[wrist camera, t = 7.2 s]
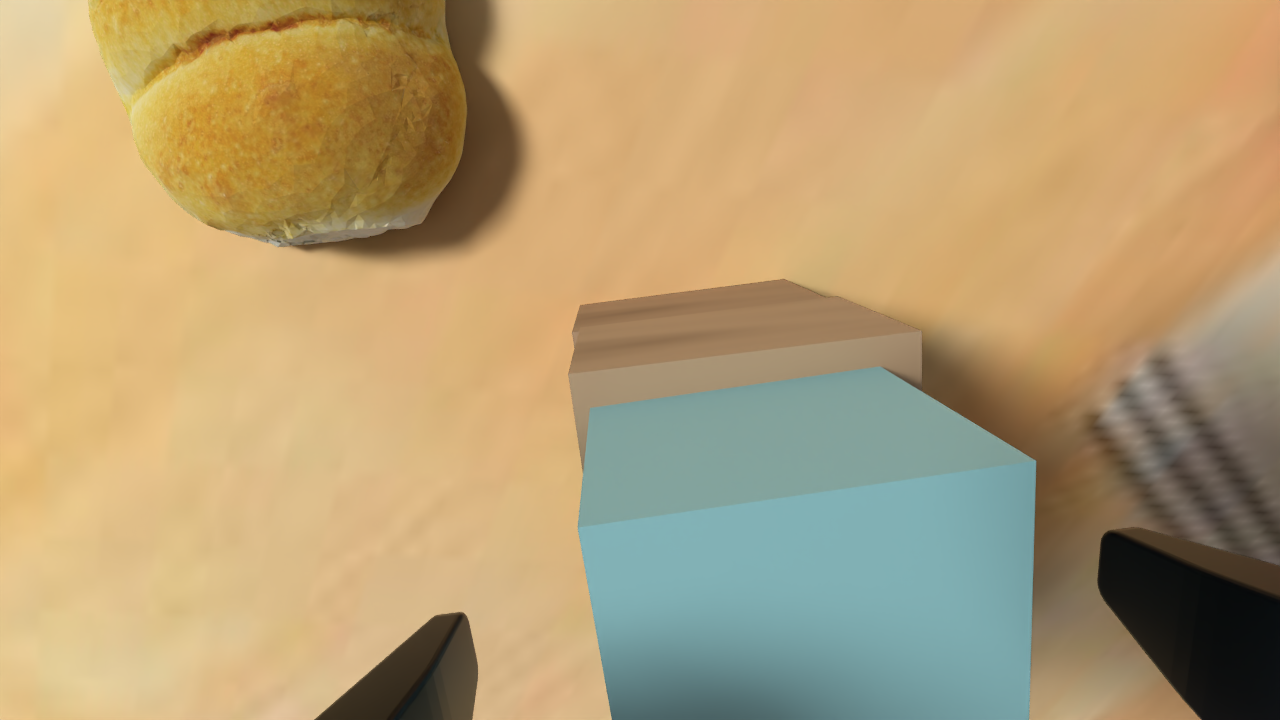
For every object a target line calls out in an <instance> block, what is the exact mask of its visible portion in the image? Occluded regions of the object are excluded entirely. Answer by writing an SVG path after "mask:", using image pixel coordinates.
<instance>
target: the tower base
mask: <svg viewBox="0 0 1280 720" xmlns="http://www.w3.org/2000/svg"><path fill="white" fill-rule="evenodd" d="M820 298H826V297H823V296H821V295H819V294H816V293H814V292H812V291H810V290H807V289H805V288H803V287H801V286H798V285H796V284H794V283H791V282H789V281H787V280H785V279H781V280H773V281H765V282H758V283H750V284H742V285H734V286H726V287H718V288H711V289H703V290H695V291H687V292H679V293H671V294H664V295H656V296H648V297H640V298H632V299H624V300H616V301H609V302H601V303H593V304H585V305H580V308H579V311H578V314H577V318H576V321H575V324H574V328H573V331H572V335H573V341H574V348H575V345H576V341H577V337H578V333H579V329H580V327H588V326H597V325H605V324H613V323H622V322H630V321H638V320H646V319H655V318H663V317H671V316H679V315H688V314H696V313H704V312H712V311H721V310H729V309H737V308H745V307H754V306H762V305H770V304H779V303H787V302H795V301H803V300H812V299H820Z"/></svg>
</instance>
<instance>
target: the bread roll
mask: <svg viewBox="0 0 1280 720" xmlns="http://www.w3.org/2000/svg"><path fill="white" fill-rule="evenodd" d="M88 4H89V17H90V21H91V26H92V30H93V33H94V36H95V38H96V41H97V44H98V46H99V50H100V54H101V57H102V59H103V61H104V63H105V66H106V68H107V70H108V72H109V74H110V77H111V79H112V81H113V83H114V85H115V87H116V90H117V92H118V94H119V96H120V98H121V100H122V102H123V105H124V107H125V109H126V112H127V115H128V117H129V120H130V123H131V126H132V132H133V138H134V141H135V144H136V146H137V149H138V152H139V155H140V158H141V160H142V161H143V163H144V164H145V166H146V168H147V169H148V170H149V171H150V172H151V173H152V175H153V176H154V177H155V178H156V180H157V181H158V182H159V184H160V185H161V186H162V187H163V188H164V190H165V191H166V192H167V193H168V195H169V196H170V197H171V198H172V199H173V200H174V201H175V202H176V203H177V204H178V205H179V206H180V207H181V208H183V209H184V210H185V211H186V212H187V213H189V214H190V215H192V216H193V217H195V218H196V219H198V220H199V221H201V222H203V223H205V224H206V225H209V226H211V227H214V228H216V229H219V230H225V231H227V232H230V233H233V234H235V235H238V236H242V237H248V238H253V239H256V240H259V241H262V242H266V243H271V244H273V245H275V246H277V247H286V246H290V245H292V246H296V245H302V244H315V243H325V242H334V241H336V242H338V241H343V240H348V239H353V238H368V237H369V236H375V235H379V234H382V233H384V232H385V231H387V230H389V229H406V228H409V227H412V226H414V225H418V224H421V223H422V222H423V221H424V220H425V218H426V216H427V214H428V212H429V211H430V209H431V207H432V205H433V203H434V201H435V200H436V198H437V197H438V196H439V194H440V193H441V192H442V191H443V189H444V188H445V187H446V185H447V184H448V183H449V181H450V180H451V178H452V176H453V175H454V173H455V171H456V168H457V166H458V164H459V162H460V159H461V156H462V152H463V145H464V136H465V128H466V118H467V103H466V93H465V88H464V85H463V82H462V78H461V75H460V72H459V69H458V66H457V63H456V61H455V59H454V56H453V54H452V52H451V48H450V43H449V38H448V34H447V29H446V24H445V0H88Z"/></svg>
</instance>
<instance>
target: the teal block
mask: <svg viewBox="0 0 1280 720" xmlns="http://www.w3.org/2000/svg"><path fill="white" fill-rule="evenodd" d="M1035 488H1036V460H1034V459H1032V458H1031V457H1029V456H1027V455H1026V454H1024V453H1023V452H1021V451H1019V450H1018V449H1016V448H1014V447H1013V446H1011V445H1009V444H1008V443H1006V442H1004V441H1003V440H1001V439H999V438H998V437H996V436H994V435H993V434H991V433H989V432H988V431H986V430H984V429H983V428H981V427H980V426H978V425H976V424H975V423H973V422H971V421H970V420H968V419H966V418H965V417H963V416H961V415H960V414H958V413H956V412H955V411H953V410H951V409H950V408H948V407H946V406H945V405H943V404H942V403H940V402H938V401H937V400H935V399H933V398H932V397H930V396H928V395H927V394H925V393H923V392H922V391H920V390H918V389H917V388H915V387H913V386H912V385H910V384H908V383H907V382H905V381H904V380H902V379H900V378H899V377H897V376H895V375H894V374H892V373H890V372H889V371H887V370H885V369H884V368H882V367H880V366H879V367H872V368H865V369H858V370H851V371H844V372H838V373H831V374H824V375H817V376H810V377H803V378H796V379H789V380H782V381H775V382H768V383H761V384H754V385H747V386H740V387H733V388H726V389H719V390H712V391H705V392H698V393H691V394H684V395H677V396H670V397H663V398H656V399H649V400H642V401H635V402H628V403H621V404H614V405H607V406H600V407H593V408H590V413H589V422H588V432H587V442H586V452H585V461H584V471H583V481H582V491H581V500H580V510H579V520H578V532H579V538H580V543H581V549H582V554H583V560H584V565H585V571H586V577H587V582H588V588H589V593H590V599H591V605H592V610H593V616H594V621H595V627H596V633H597V638H598V644H599V649H600V655H601V661H602V666H603V672H604V677H605V683H606V689H607V694H608V700H609V705H610V711H611V717H612V720H1029V702H1030V666H1031V631H1032V595H1033V559H1034V524H1035Z"/></svg>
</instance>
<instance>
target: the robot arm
mask: <svg viewBox="0 0 1280 720" xmlns="http://www.w3.org/2000/svg"><path fill="white" fill-rule="evenodd" d="M1098 588H1099V591H1100V594H1101V596H1102V598H1103V599H1104V601H1105V602H1106V604H1107V605H1108V606H1109V607H1110V609H1111V610H1112V611H1113V612H1114V614H1115V615H1116V616H1117V617H1118V619H1119V620H1120V621H1121V622H1122V624H1123V625H1124V626H1125V628H1126V629H1127V630H1128V631H1129V633H1130V634H1131V635H1132V636H1133V638H1134V639H1135V640H1136V641H1137V643H1138V644H1139V645H1140V646H1141V648H1142V649H1143V650H1144V651H1145V653H1146V654H1147V655H1148V656H1149V658H1150V659H1151V660H1152V661H1153V663H1154V664H1155V665H1156V667H1157V668H1158V669H1159V670H1160V672H1161V673H1162V674H1163V675H1164V677H1165V678H1166V679H1167V680H1168V682H1169V683H1170V684H1171V685H1172V687H1173V688H1174V689H1175V690H1176V691H1177V693H1178V694H1179V695H1180V696H1181V697H1182V699H1183V700H1184V701H1185V702H1186V703H1187V704H1188V705H1189V707H1190V708H1191V709H1192V710H1193V711H1194V712H1195V713H1196V714H1197V715H1198V717H1199V718H1200V719H1201V720H1280V566H1279V565H1276V564H1272V563H1268V562H1264V561H1261V560H1257V559H1253V558H1250V557H1246V556H1242V555H1239V554H1235V553H1231V552H1228V551H1224V550H1220V549H1216V548H1213V547H1209V546H1205V545H1202V544H1198V543H1194V542H1191V541H1187V540H1183V539H1180V538H1176V537H1172V536H1168V535H1165V534H1161V533H1157V532H1154V531H1150V530H1146V529H1143V528H1136V527H1131V528H1124V529H1116V530H1110V531H1107V532H1106V533H1105V534H1104V535H1103V537H1102V538H1101V545H1100V556H1099V568H1098ZM477 681H478V664H477V658H476V653H475V648H474V644H473V639H472V634H471V629H470V625H469V621H468V618H467V616H466V615H465V614H464V613H462V612H457V613H449V614H441V615H436V616H434V617H433V618H431V619H430V620H429V621H428V622H427V623H426V624H424V625H423V626H422V627H421V628H420V629H419V630H417V631H416V632H415V633H414V634H413V635H412V636H410V637H409V638H408V639H407V640H406V641H405V642H404V643H402V644H401V645H400V646H399V647H398V648H397V649H395V650H394V651H393V652H392V653H391V654H390V655H389V656H387V657H386V658H385V659H384V660H383V661H382V662H380V663H379V664H378V665H377V666H376V667H375V668H374V669H372V670H371V671H370V672H369V673H368V674H367V675H365V676H364V677H363V678H362V679H361V680H360V681H358V682H357V683H356V684H355V685H354V686H353V687H352V688H350V689H349V690H348V691H347V692H346V693H345V694H343V695H342V696H341V697H340V698H339V699H338V700H337V701H335V702H334V703H333V704H332V705H331V706H330V707H328V708H327V709H326V710H325V711H324V712H323V713H321V714H320V715H319V716H318V717H317V718H316V719H315V720H472V717H473V710H474V703H475V696H476V689H477Z"/></svg>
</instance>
